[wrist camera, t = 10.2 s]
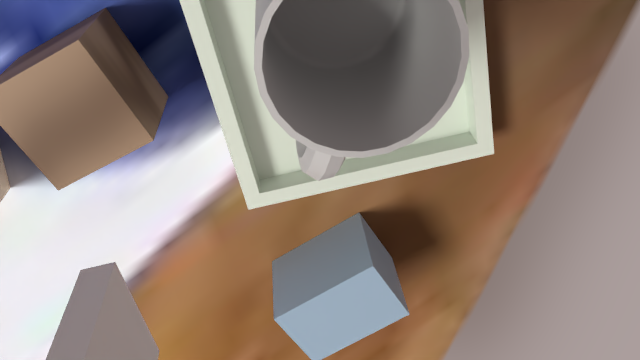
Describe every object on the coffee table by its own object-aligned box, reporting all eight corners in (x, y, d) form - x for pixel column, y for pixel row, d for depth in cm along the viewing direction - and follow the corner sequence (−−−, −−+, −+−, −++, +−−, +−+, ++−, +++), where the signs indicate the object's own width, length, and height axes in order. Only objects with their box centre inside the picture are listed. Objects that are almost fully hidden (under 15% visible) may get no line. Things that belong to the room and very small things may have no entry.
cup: (432, -66, 27) (502, -24, 19) (371, 134, 31) (407, 233, 24) (271, -106, 25) (276, -78, 18) (233, 109, 30) (224, 206, 22)
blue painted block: (272, 260, 36) (273, 319, 32) (358, 211, 35) (372, 265, 30) (308, 302, 38) (314, 362, 33) (391, 257, 37) (409, 314, 32)
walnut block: (18, 57, 29) (-24, 98, 24) (106, 7, 28) (78, 39, 24) (86, 140, 31) (58, 190, 27) (168, 96, 30) (153, 140, 26)
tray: (146, -130, 25) (137, -127, 23) (453, -206, 25) (468, -209, 23) (249, 190, 33) (248, 209, 31) (481, 136, 33) (494, 153, 31)
